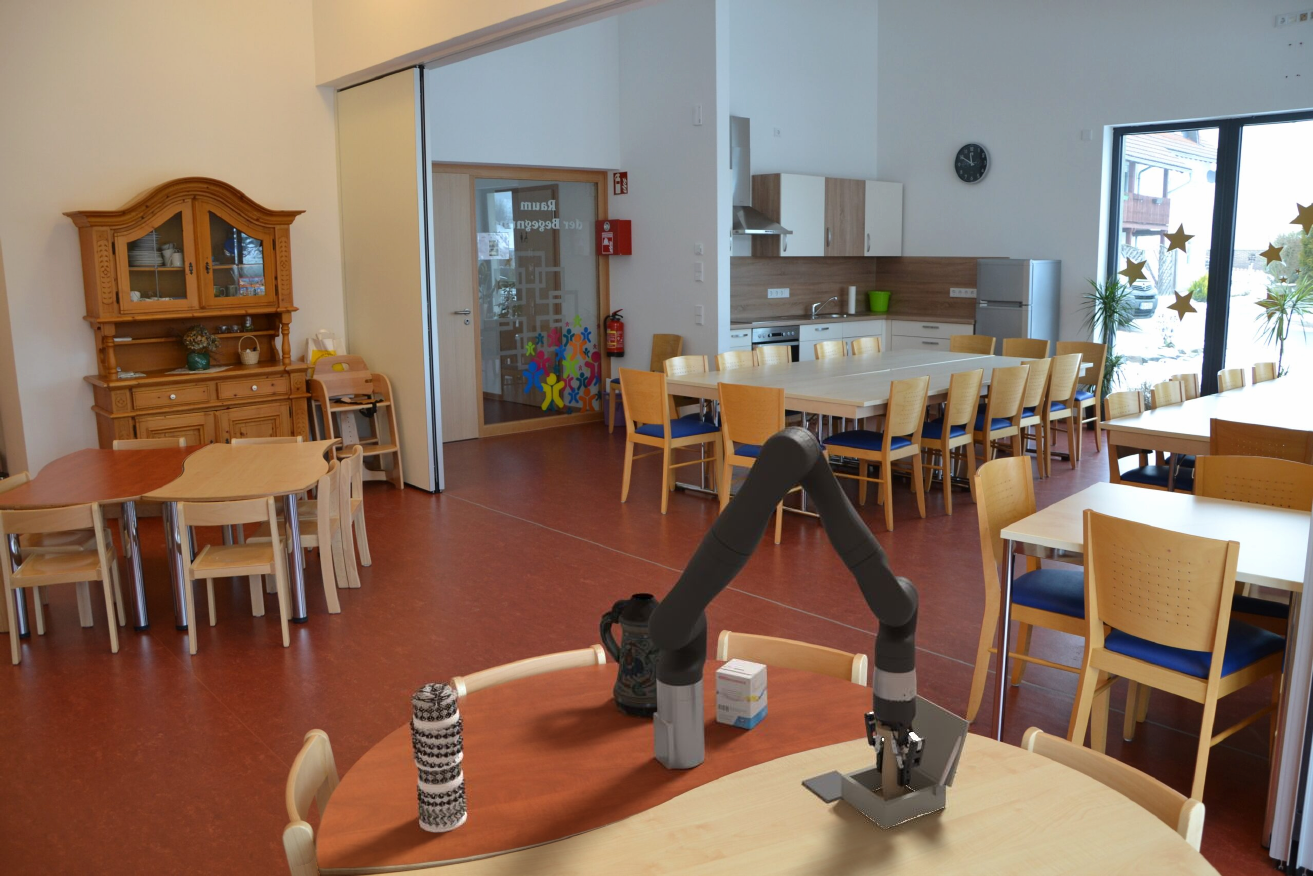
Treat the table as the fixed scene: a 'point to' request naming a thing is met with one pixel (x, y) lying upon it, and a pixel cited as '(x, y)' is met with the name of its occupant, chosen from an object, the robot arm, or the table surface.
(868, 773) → the case
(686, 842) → the table surface
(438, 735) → the decorative candle
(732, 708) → the ink box
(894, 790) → the handle
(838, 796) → the mat
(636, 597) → the beer stein
